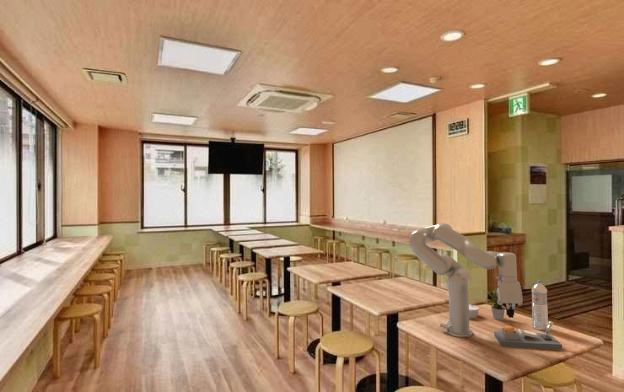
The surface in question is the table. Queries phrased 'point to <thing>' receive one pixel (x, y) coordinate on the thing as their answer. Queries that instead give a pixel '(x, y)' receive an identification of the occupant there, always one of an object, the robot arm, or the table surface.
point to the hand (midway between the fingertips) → (510, 316)
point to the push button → (509, 329)
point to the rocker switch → (527, 333)
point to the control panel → (526, 340)
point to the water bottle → (539, 307)
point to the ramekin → (473, 311)
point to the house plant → (496, 308)
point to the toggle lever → (548, 328)
